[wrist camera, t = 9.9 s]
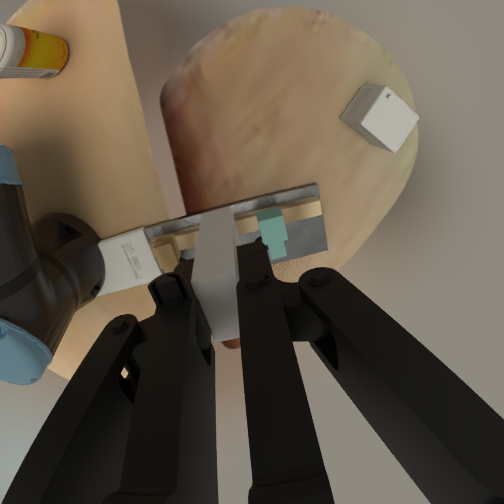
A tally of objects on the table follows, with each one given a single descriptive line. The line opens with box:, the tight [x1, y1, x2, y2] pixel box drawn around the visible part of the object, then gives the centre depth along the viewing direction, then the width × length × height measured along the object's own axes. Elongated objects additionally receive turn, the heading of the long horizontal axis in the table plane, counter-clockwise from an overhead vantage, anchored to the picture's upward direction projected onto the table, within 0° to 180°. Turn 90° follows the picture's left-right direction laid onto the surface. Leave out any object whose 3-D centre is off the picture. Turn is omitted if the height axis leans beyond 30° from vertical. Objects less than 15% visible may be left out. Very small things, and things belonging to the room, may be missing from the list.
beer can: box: [0, 23, 68, 79], centre depth 25 cm, size 6×6×15 cm
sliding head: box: [255, 207, 288, 260], centre depth 42 cm, size 3×6×5 cm, turn 14°
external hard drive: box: [96, 227, 163, 297], centre depth 45 cm, size 2×8×12 cm
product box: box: [340, 86, 420, 153], centre depth 36 cm, size 6×6×7 cm
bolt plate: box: [145, 183, 328, 274], centre depth 45 cm, size 24×10×1 cm, turn 104°
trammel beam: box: [149, 196, 322, 273], centre depth 42 cm, size 23×6×5 cm, turn 103°
